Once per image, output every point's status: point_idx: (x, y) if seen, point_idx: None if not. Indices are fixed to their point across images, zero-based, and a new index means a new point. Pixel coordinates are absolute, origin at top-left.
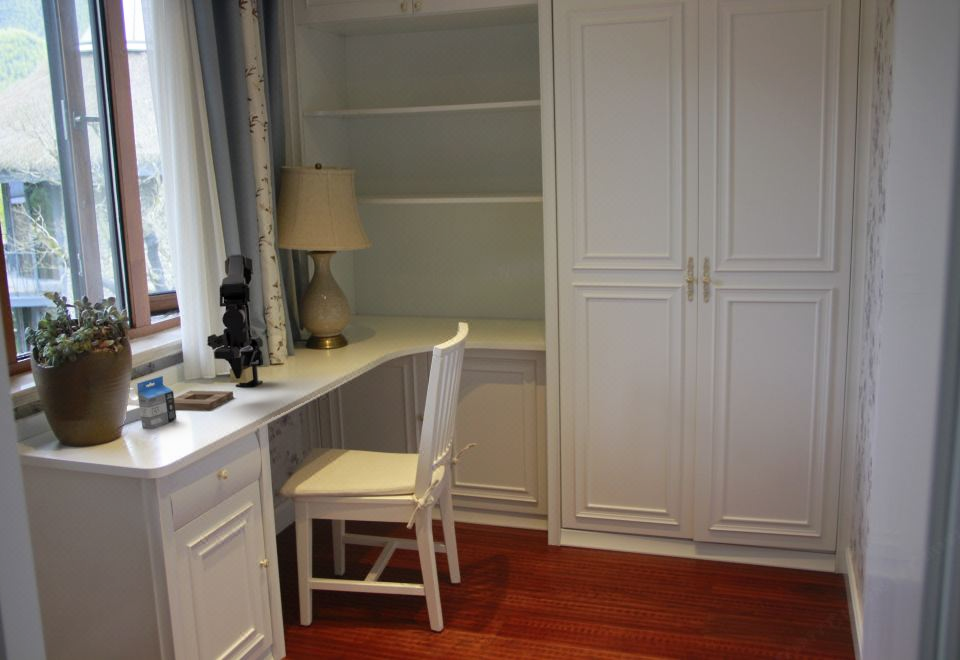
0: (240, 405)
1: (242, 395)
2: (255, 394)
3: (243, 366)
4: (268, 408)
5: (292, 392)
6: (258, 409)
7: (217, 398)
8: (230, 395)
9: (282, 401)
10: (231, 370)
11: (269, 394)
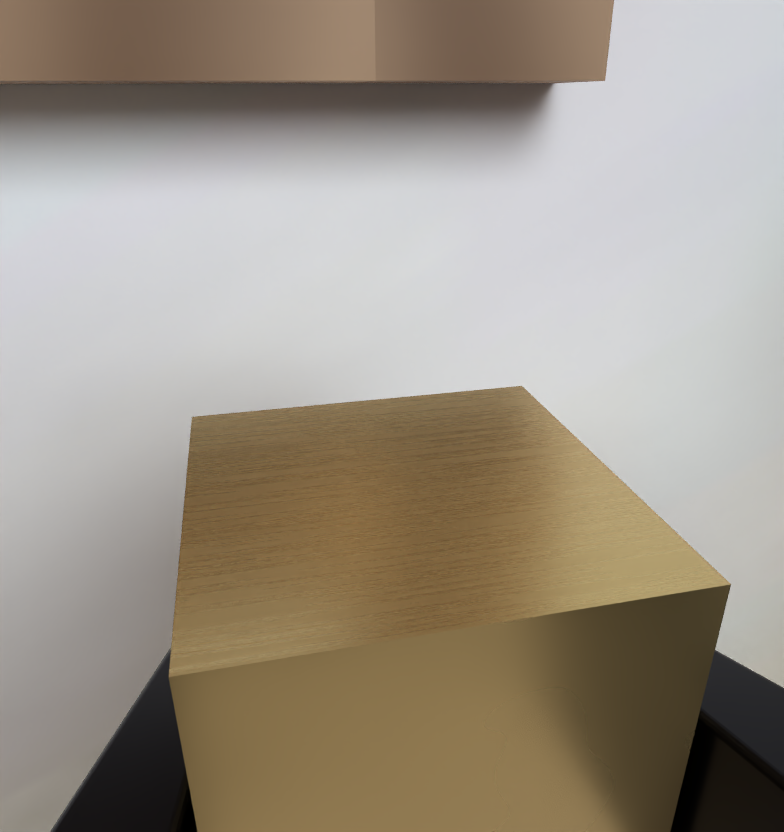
0: (183, 416)
1: (681, 152)
2: (711, 309)
3: (622, 828)
4: None
5: (739, 632)
6: (71, 703)
7: (86, 42)
8: (497, 81)
9: None
10: (177, 698)
11: (691, 469)
